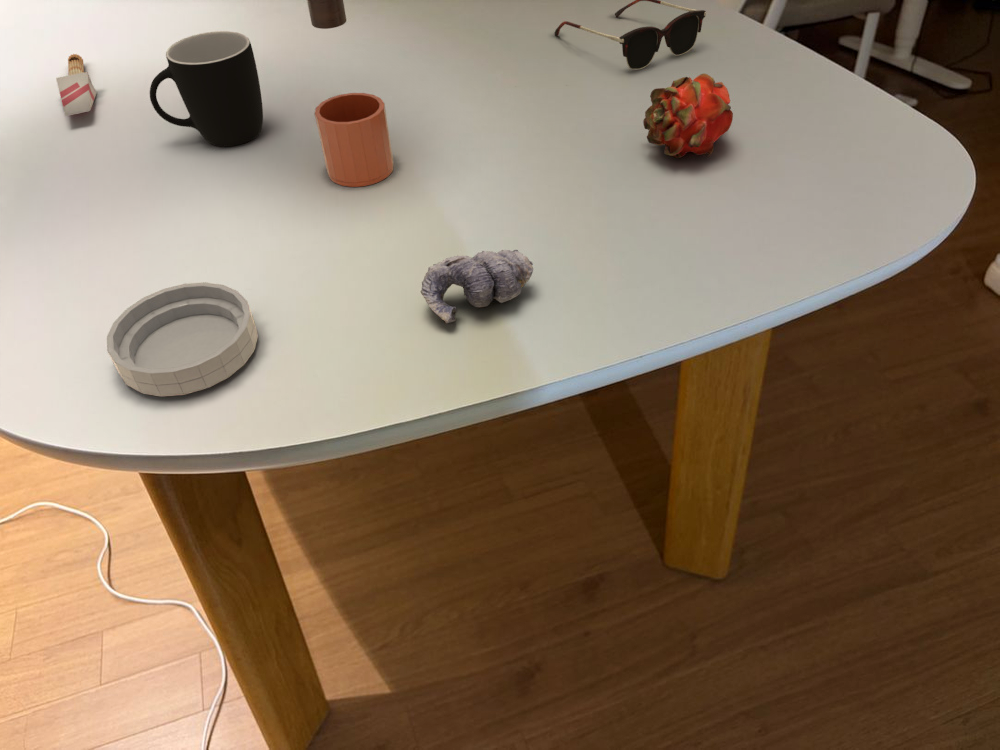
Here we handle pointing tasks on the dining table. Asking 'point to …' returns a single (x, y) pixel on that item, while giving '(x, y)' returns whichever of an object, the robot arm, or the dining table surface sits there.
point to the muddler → (327, 13)
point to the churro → (76, 88)
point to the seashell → (476, 279)
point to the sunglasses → (654, 36)
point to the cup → (355, 139)
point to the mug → (215, 86)
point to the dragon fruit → (688, 115)
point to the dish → (182, 339)
